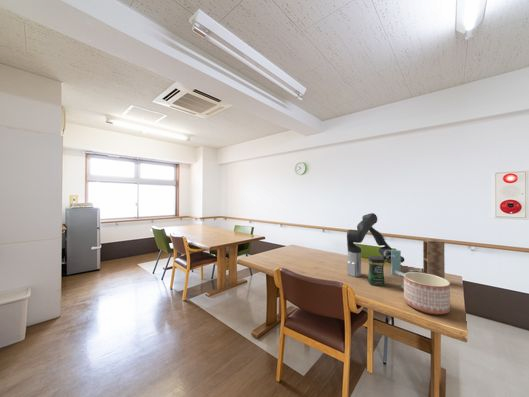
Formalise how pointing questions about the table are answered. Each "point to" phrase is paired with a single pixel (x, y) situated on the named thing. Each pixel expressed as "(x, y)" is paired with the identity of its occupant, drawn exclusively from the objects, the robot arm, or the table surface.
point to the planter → (427, 293)
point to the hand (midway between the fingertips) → (395, 260)
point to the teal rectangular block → (395, 261)
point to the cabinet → (432, 258)
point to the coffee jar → (376, 270)
